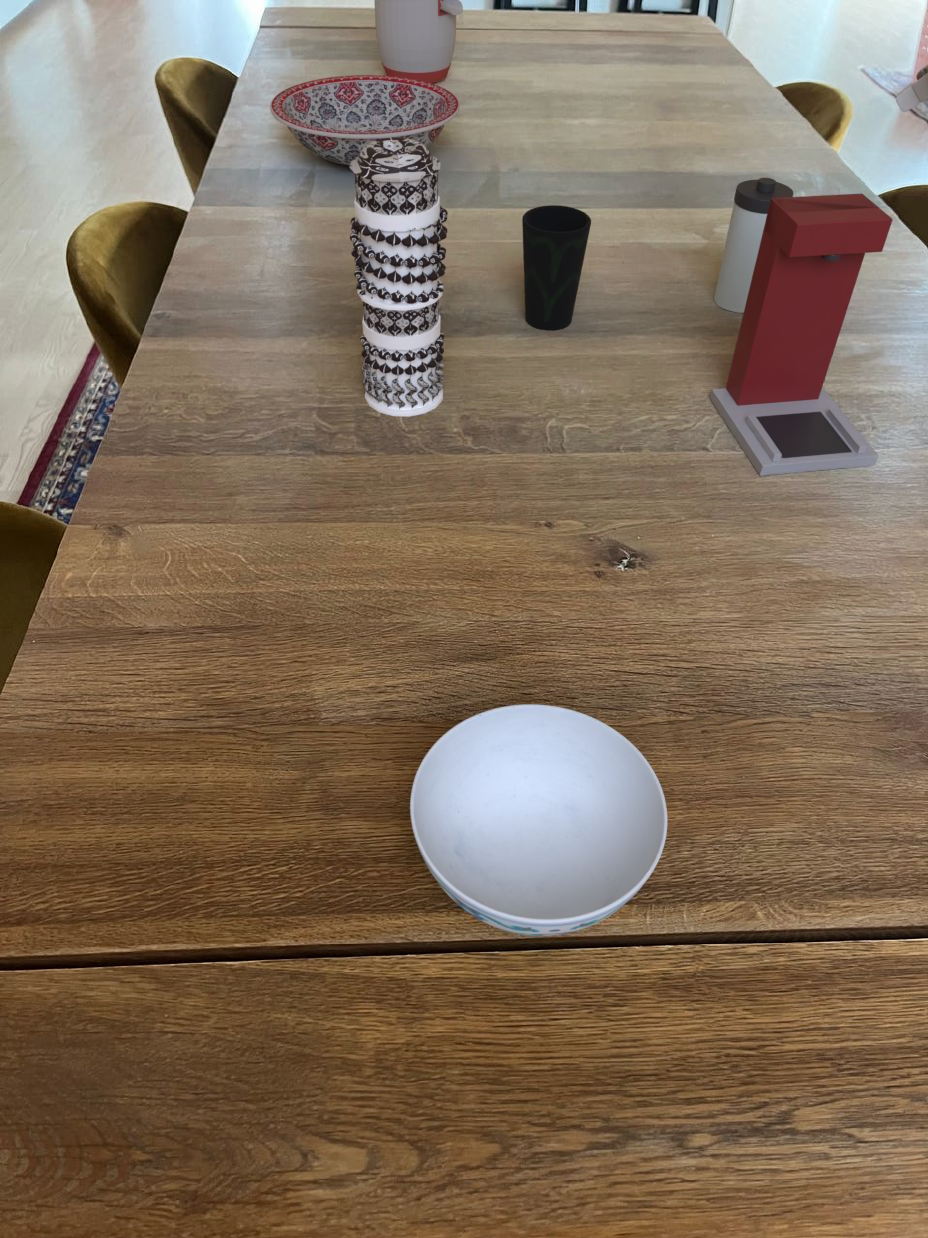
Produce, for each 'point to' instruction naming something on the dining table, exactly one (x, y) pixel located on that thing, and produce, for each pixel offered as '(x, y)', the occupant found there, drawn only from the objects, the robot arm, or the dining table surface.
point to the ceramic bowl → (362, 113)
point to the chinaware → (538, 818)
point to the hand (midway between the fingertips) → (910, 91)
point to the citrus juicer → (416, 37)
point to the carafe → (745, 240)
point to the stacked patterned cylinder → (399, 274)
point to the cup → (553, 263)
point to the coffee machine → (799, 335)
